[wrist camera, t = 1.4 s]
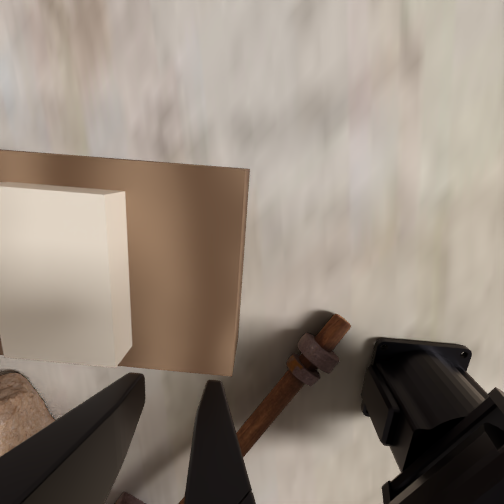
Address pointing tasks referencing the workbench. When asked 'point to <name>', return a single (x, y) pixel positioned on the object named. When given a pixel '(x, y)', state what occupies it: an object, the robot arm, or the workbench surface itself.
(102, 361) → the cream rectangular block
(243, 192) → the plate
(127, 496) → the hammer
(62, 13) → the workbench surface
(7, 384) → the stone
